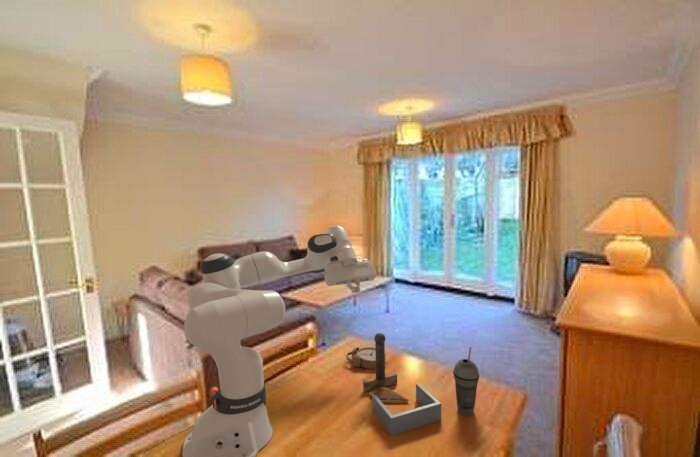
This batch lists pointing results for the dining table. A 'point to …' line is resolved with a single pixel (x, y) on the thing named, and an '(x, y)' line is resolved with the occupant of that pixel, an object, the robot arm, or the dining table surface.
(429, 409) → the box
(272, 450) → the dining table surface
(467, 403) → the beverage cup
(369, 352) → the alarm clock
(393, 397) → the shard
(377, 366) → the ball-topped joystick
